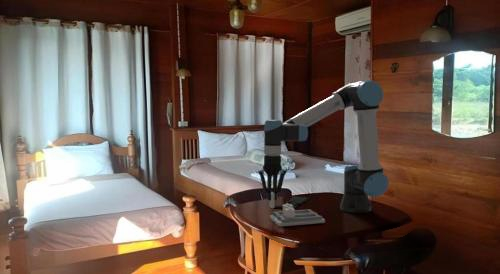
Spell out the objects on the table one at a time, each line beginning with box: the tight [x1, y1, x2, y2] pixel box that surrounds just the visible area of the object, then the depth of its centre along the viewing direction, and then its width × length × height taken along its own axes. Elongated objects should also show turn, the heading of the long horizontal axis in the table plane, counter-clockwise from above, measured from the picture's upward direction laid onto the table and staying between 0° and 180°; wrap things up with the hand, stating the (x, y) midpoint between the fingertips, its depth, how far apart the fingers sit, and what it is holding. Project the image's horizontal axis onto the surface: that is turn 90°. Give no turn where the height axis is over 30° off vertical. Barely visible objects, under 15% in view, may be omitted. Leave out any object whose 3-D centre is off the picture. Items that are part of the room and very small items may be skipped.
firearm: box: [273, 196, 310, 210], centre depth 220 cm, size 28×2×15 cm
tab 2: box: [284, 207, 296, 219], centre depth 183 cm, size 4×3×6 cm
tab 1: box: [282, 202, 293, 214], centre depth 190 cm, size 4×3×6 cm
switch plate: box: [269, 209, 326, 227], centre depth 188 cm, size 22×13×3 cm, turn 105°
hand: (271, 207), depth 181 cm, fingers closed
